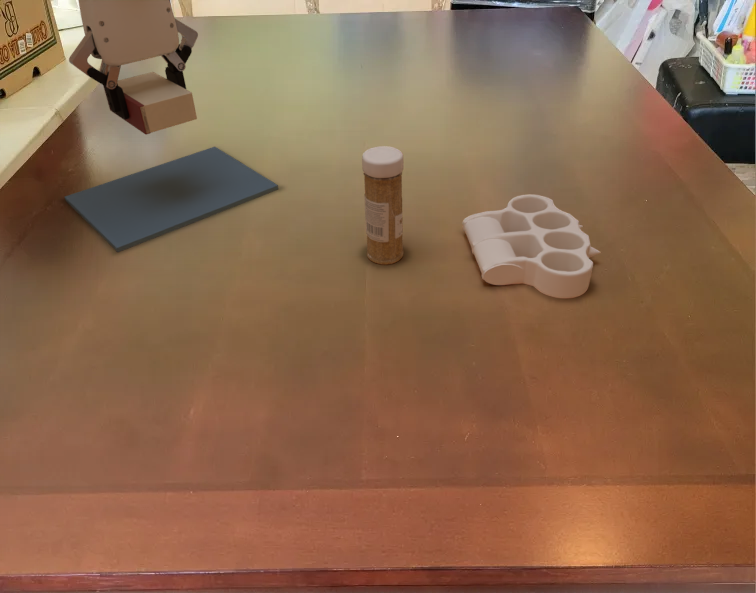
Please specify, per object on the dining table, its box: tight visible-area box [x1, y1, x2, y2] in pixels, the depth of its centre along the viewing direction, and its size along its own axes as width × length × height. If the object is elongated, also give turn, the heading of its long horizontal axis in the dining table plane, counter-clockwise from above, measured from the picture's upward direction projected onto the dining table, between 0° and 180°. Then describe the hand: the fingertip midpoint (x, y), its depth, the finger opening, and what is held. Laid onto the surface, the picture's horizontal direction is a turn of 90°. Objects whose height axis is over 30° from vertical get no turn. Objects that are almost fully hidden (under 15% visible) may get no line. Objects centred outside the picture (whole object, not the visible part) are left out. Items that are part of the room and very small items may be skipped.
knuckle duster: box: [461, 193, 602, 299], centre depth 78 cm, size 3×18×15 cm
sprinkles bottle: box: [361, 145, 404, 266], centre depth 76 cm, size 5×5×14 cm
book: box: [102, 71, 198, 136], centre depth 85 cm, size 11×7×4 cm, turn 41°
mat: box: [64, 146, 279, 253], centre depth 93 cm, size 24×18×1 cm
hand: (151, 107), depth 85 cm, fingers closed on book, 7 cm apart
